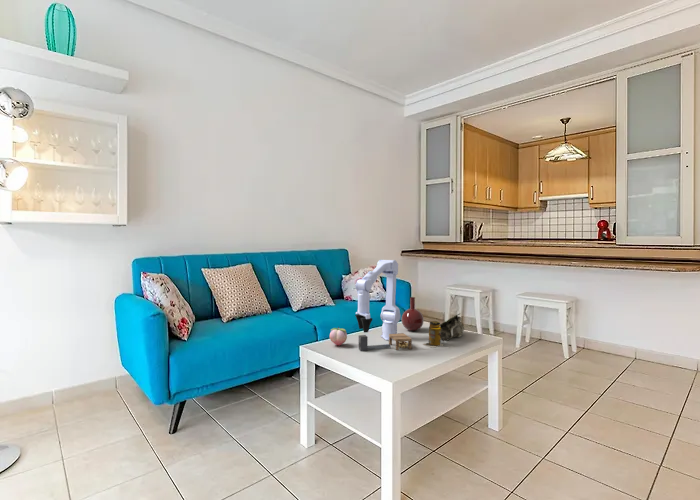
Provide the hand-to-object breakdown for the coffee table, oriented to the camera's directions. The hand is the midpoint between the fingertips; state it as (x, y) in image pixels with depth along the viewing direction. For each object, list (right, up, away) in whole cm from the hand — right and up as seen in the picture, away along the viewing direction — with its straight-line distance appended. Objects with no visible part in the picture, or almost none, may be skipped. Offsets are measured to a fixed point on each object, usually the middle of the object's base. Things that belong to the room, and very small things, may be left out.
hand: (363, 330), depth 192 cm
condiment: (+37, -10, +9) cm, 39 cm away
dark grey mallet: (+6, -10, +2) cm, 12 cm away
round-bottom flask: (+31, -9, +40) cm, 51 cm away
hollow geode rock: (+48, -9, +25) cm, 55 cm away
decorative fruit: (-13, -10, +9) cm, 18 cm away
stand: (+19, -10, +6) cm, 22 cm away
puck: (+20, -10, +6) cm, 24 cm away
